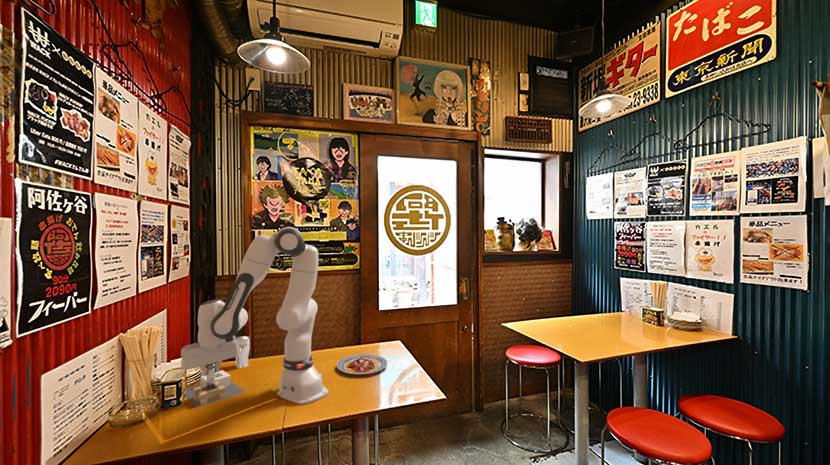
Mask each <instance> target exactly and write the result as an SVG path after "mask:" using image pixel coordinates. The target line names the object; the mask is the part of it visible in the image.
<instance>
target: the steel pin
mask: <svg viewBox="0 0 830 465" xmlns="http://www.w3.org/2000/svg"><path fill="white" fill-rule="evenodd" d="M216 366H217V362H214V363H211V364H207V365H204V369H205V370H207V371H208V373H207V374H208V375H206V380H207V390H212V389H214V388H215V367H216Z"/></svg>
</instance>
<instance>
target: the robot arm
mask: <svg viewBox="0 0 830 465" xmlns="http://www.w3.org/2000/svg"><path fill="white" fill-rule="evenodd" d="M245 252H246V253H245V255H244V256H243V260H242V261H241V264H240V268H239V271H238V273H237V276H236V279H235V283H234V284H233V286H232V289H231V291H230V292H229V295H228V297H227V298H226V301H225V302H224V301H222V300H221V299H212V300H209V301H205V302H203V303H202V304H201V305H199V308H198V313H197V325H198V333H197V342H195V343H191V344H187V345H186V344H185V346H183V347H182V348H181V350H180V356H181V360H180V361H181V362H180V367H181V368H182V370H184V371H188V370H192V369H196V368H199V370H200V371H201V376H206V375H208V374H207V373H208V371H207V370H206V369H205V365H207V364H211V363H214V362H216V367H215V373H216V372H219V371H220V367H221V366H222V364H223V361H225V360H228V359H232V358H236V356H237V354H238V347H237V343H236V342H235V339H236V338H237V337H236V334H237V333H238V332H239V331H240V330H241V329H242V328H243V327H244V326H245V325H246V324H247V322H248V320H249V314H248V311H247V310H246V309H245V308H243V307H244V305H245V302H246V301H247V299H248V296H249V295H250V293H251V292H252V291H253V290H254V289H255V287H256V286H258V284H260V283H261V282H262V281H263V280H264V279H265V277H266V276H267V275H268V272H269V271H270V270H271V267H272V265H273V261H274V259H275V257H276V255H278V254H279V253H281V252H282V253H283V254H285V255H288V256H291V257H292V266H291V269H290V270H291V271H290V276H289V284H288V288H287V290H286V294H285V297H284V298H283V302H282V304H281V307H280V308H279V310H278V312H277V314H276V316H275V317H276V324H277V325H278V327H279V328H280V329H281V330H283V331H287V334H286V336H285V338H284V357H283V360H282V366H283V370H282V373H281V375H280V379H279V381H280V382H279V390H277V392H276V394H277V395H279V396H277V397H278V398H282V399H284V400H286V401H290V402H292V403H295V404H297V405H305V404H310V403H312V402H315V401H318V400H320V399H323V398H324V397H326V396H327V395H329V392H330V391H329V389H327V388H326V386H324V384H323V383H324V382H323V374H322V373H319V372H318V370H317V368H315V365H314V364H315V360H314V358H313V356H312V337H313V336H312V335H313V330H314V324H315V320H316V315H317V312H318V303H317V302H316V301H315V299H313V298H312V296H313V294H314V292H315V290H316V284H317V277H318V273H319V272H318V271H319V270H318V269H319V250H318V249H317V247H315V245H311V244H306V243H305V241H304V238H303V235H302V233H301V232H300V231H299V230H298V229H297V228H295V227H293V226H285V227H283V228H280V229H279V231H277V232H276V233H274V234H273V235H272V236H270V235H266V234H260V235H257V236H256V237H254V239H253V240H252V242H251V243H250V244H249V247H248V248H247V251H245Z"/></svg>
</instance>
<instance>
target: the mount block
mask: <svg viewBox="0 0 830 465" xmlns="http://www.w3.org/2000/svg"><path fill="white" fill-rule="evenodd" d="M224 397H226V387H225V386H223V385H222V384H221V383H219V382H218V381H215V388H214V389H212V390H207V384H206V385H202V386H199V387H196V388H193V398H194V399H195V400H196V401H197V402H198V403H199V404H200V405H204V404H207V403H210V402H213V401H216V400H218V399H221V398H224ZM216 402H217V401H216ZM213 403H214V402H213Z"/></svg>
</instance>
